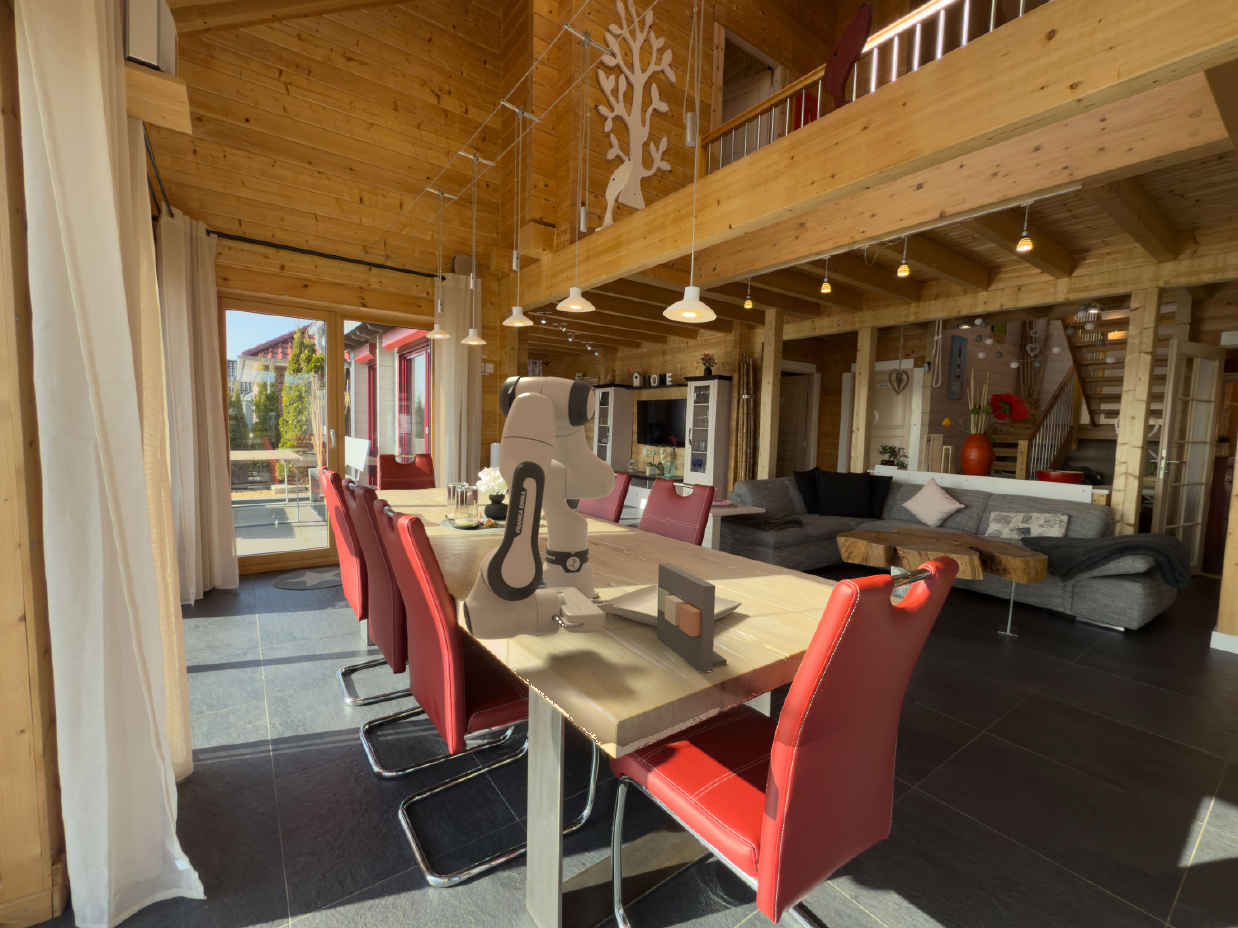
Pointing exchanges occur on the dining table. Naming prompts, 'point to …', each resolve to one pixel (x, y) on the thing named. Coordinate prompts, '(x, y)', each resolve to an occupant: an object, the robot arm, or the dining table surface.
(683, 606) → the key terracotta
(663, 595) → the key sage
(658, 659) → the dining table surface
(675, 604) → the key ivory
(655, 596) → the square plate
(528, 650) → the dining table surface
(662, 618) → the keyguard
